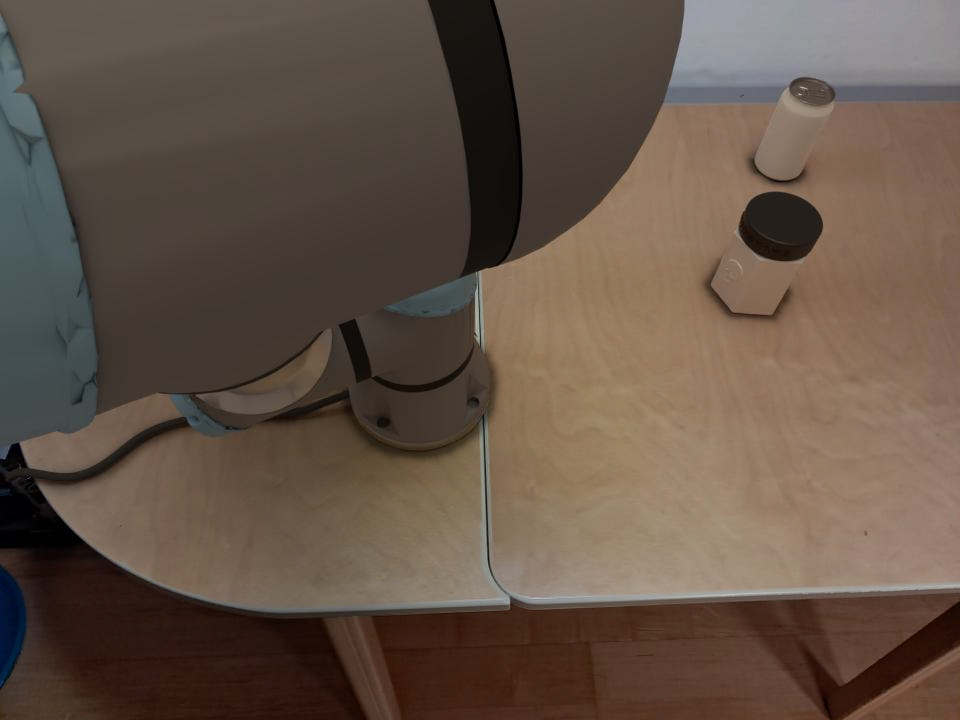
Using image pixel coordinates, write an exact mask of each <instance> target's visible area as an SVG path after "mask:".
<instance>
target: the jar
mask: <svg viewBox="0 0 960 720" xmlns="http://www.w3.org/2000/svg"><path fill="white" fill-rule="evenodd" d="M823 230H824V221H823V218H822V216H821V213H820V212H819V211H818V209H817V208H816V207H815V206H814V205H813V204H812V203H811V202H809V201H808V200H806V199H804V198H803V197H800V196H799V195H796V194H793V193H790V192H786V191H767V192H763V193H760V194H757V195H756V196H754V197H752V198H750V200H749V201H748V202H747V204H746V206H745V209H744V210H743V211H742V213H741V216H740V220H739V223H738V225H737V227H736V228H735V229H734V231H733V233H732V235H731V238H730V240H729V242H728V244H727V247H726V248H725V251H724V252H723V253H724V254H723V255H722V258H721V261H720V262H719V265H718V266H717V269H716V271H715V274H714V276H713V278H712V280H711V283H710V287H711V288H712V290H713V291H714V293H716V295H717V296H718V297H719V298H720V299H721V300H722V302H723V303H724V304H725V305H726V307H727V308H728V309H729V310H730V311H731V312H732V313H734V314H748V315H759V316H772V315H774V313H775V311H776V309H777V307H778V306H779V304H780V302H781V301H782V300H783V297H784V296H785V295H786V292H787V291H788V289H789V287H790V286H791V284H792V282H793V280H795V279H794V278H795V277H796V275H797V274H798V272H799V271H800V269H801V267H802V265H803V264H804V262H805V260H806V258H808V257H807V256H808V255H809V254H810V253H811V252H812V250H813V249H814V247H815V245H816V244H817V242H818V240H819V239H820V237H821V235H822V234H823Z"/></svg>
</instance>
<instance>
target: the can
mask: <svg viewBox="0 0 960 720" xmlns="http://www.w3.org/2000/svg"><path fill="white" fill-rule="evenodd" d="M788 85H789V86H788V87H787V88H785V89H784V90H783V92H782V93H781V95H780V97H779V100H778V102H777V104H776V107H775V109H774V110H773V113H772V115H771V118H770V120H769V123H768V124H767V128H766V129H765V132H764V135H763V136H762V139H761V142H760V143H759V146H758V148H757V151H756V153H755V156H754V164H755V167H756V169H757V170H758V171H759V173H760V174H761V175H763V176H764V177H765V178H768V179H771V180H772V181H773V180H774V181H779V182H786V181H790V180H794V179H796V178H798V177H799V176H800V175H801V173H802V172H803V170H804V168H805V166H806V164H807V163H808V160H809V159H810V156H811V155H812V153H813V151H814V148H815V147H816V145H817V143H818V141H819V139H820V137H821V135H822V133H823V131H824V129H825V128H826V125H827V123H828V121H829V119H830V117H831V115H832V113H833V111H834V107H835V99H836V96H837V93H836V90H835V88H834V87H833V86H832V85H831V83H829V82H827V81H825V80H824V79H820V78H818V77H815V76H814V77H813V76H801V77H797V78H795V79H793V80H792V81H790V83H789V84H788Z"/></svg>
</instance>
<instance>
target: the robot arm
mask: <svg viewBox="0 0 960 720" xmlns="http://www.w3.org/2000/svg"><path fill="white" fill-rule="evenodd" d="M685 2H686V0H0V448H1V447H7V446H12V445H15V444H18V443H21V442H25V441H28V440H32V439H34V438H39V437H43V436H46V435H48V434H52V433H55V432H58V433H61V434H64V435H68V434H69V435H70V434H75V433H77V432H79V431H81V430H83V429H85V428H87V427H89V425H90V424H91V423H93V422H94V420H95V417H96V416H99V415H101V414H104V413H107V412H109V411H111V410H114V409H116V408H119V407H122V406H124V405H127V404H130V403H132V402H135V401H139V400H142V399H144V398H147V397H150V396H153V395H156V394H161V395H162V394H163V395H168V396H169V398H170V400H171V402H172V403H173V405H174V406H175V408H176V410H177V411H178V412H179V413H180V417H175V418H172V419H168V420H165V421H162V422H159V423H156V424H154V425H152V426H150V427H148V428H146V429H144V430H142V431H140V432H139V433H137V434H136V435H134V436H132V437H131V438H130V439H128V440H127V441H125V442H124V443H123V444H122V445H120V446H119V447H118V448H117V449H115V450H114V451H113V452H112V453H111V454H110V455H108V456H106V457H105V458H104V459H102V460H101V461H99V462H97V463H96V464H94V465H92V466H89V467H87V468H85V469H82V470H77V471H73V472H55V471H48V470H43V469H39V468H38V469H37V468H31V467H20V468H15V469H14V470H13V469H12V470H11V471H10V472H8V473H7V475H6V476H5V481H6V482H8V483H9V482H14V481H15V480H16V479H18V478H32V479H39V480H43V481H48V482H49V481H51V482H57V483H58V482H59V483H69V482H77V481H82V480H84V479H88V478H91V477H94V476H95V475H97V474H100V473H101V472H103V471H105V470H106V469H108V468H109V467H111V466H112V465H113V464H115V463H116V462H117V461H119V460H120V459H121V458H123V457H124V456H125V455H126V454H128V453H129V452H130V451H131V450H132V449H134V448H135V447H136V446H138V445H139V444H140V443H142V442H143V441H145V440H146V439H148V438H150V437H152V436H154V435H157V434H159V433H161V432H164V431H167V430H171V429H174V428H177V427H181V426H186V425H189V426H190V427H191V428H192V429H193V430H194V431H196V432H197V433H199V434H200V435H203V436H205V437H207V438H208V437H210V438H220V437H225V436H227V435H229V434H232V433H233V434H239V433H241V432H245V431H247V430H249V429H250V428H252V427H253V426H254V425H256V424H259V423H261V422H264V421H266V420H269V419H285V418H286V419H287V418H294V417H300V416H305V415H309V414H312V413H314V412H316V411H318V410H321V409H323V408H326V407H328V406H331V405H333V404H336V403H339V402H343V401H345V400H348V399H349V402H350V405H351V408H352V411H353V414H354V416H355V418H356V420H357V421H358V423H359V425H361V427H362V428H363V429H364V430H365V431H366V432H367V433H368V434H369V435H370V436H372V437H373V438H375V439H376V440H377V441H379V442H381V443H383V444H385V445H387V446H390V447H394V448H397V449H400V450H407V451H429V450H434V449H439V448H443V447H446V446H448V445H450V444H453V443H455V442H457V441H459V440H460V439H462V438H464V436H467V434H469V433H470V432H471V431H472V430H473V429H474V428H475V427H476V426H477V425H478V424H479V422H481V419H482V418H483V416H484V415H485V413H486V410H487V409H488V406H489V403H490V398H491V394H492V393H491V391H492V373H491V368H490V366H489V362H488V359H487V356H486V355H485V352H484V351H483V349H482V347H481V345H480V344H479V342H478V341H477V339H476V338H478V335H477V333H476V331H475V330H476V329H475V328H476V327H475V325H476V292H477V289H478V275H477V273H478V272H481V271H483V270H486V269H492V268H495V267H499V266H502V265H505V264H508V263H511V262H514V261H517V260H520V259H521V258H524V257H526V256H528V255H530V254H532V253H534V252H536V251H539V250H540V249H542V248H545V247H546V246H548V245H549V244H551V242H553V241H554V240H556V239H557V238H559V237H561V236H562V235H563V234H565V233H567V232H568V231H570V229H572V228H573V227H575V226H576V225H577V224H578V223H580V222H581V221H583V220H584V219H586V217H587V216H588V215H590V213H592V212H593V211H594V210H595V209H596V208H597V207H598V206H599V205H600V204H601V203H602V202H603V201H604V200H605V198H606V197H607V196H608V195H609V194H610V192H611V191H612V190H613V189H614V187H615V186H616V185H617V184H618V183H619V181H620V180H621V179H622V178H623V177H624V175H625V174H626V173H627V172H628V170H629V168H630V167H631V166H632V164H633V162H634V160H635V158H636V157H637V155H638V153H639V152H640V151H641V149H642V146H643V145H644V143H645V141H646V139H647V138H648V136H649V134H650V132H651V130H652V128H653V126H654V124H655V122H656V120H657V117H658V115H659V113H660V111H661V110H662V107H663V105H664V102H665V99H666V96H667V93H668V89H669V86H670V82H671V79H672V76H673V72H674V68H675V64H676V60H677V55H678V52H679V48H680V44H681V39H682V33H683V27H684V26H683V25H684V18H685V8H686V7H685V5H686V3H685ZM346 388H347V389H346ZM344 389H346V390H344ZM342 390H343V391H342ZM339 391H340V392H339ZM334 393H335V394H334ZM331 394H332V395H331ZM328 395H329V396H328ZM326 396H327V397H326ZM323 397H324V398H323ZM318 399H319V400H318ZM316 400H317V401H316ZM313 401H314V402H313ZM311 402H312V403H311ZM309 403H310V404H309Z"/></svg>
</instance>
